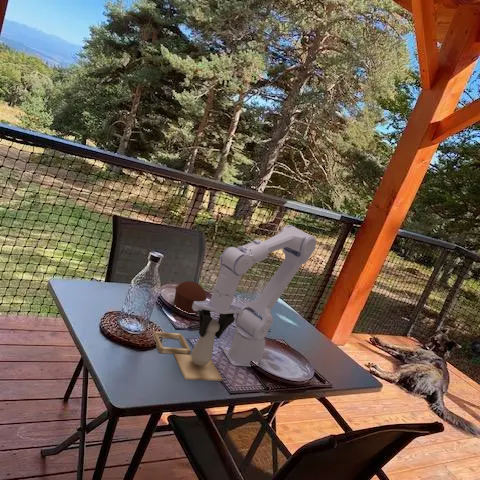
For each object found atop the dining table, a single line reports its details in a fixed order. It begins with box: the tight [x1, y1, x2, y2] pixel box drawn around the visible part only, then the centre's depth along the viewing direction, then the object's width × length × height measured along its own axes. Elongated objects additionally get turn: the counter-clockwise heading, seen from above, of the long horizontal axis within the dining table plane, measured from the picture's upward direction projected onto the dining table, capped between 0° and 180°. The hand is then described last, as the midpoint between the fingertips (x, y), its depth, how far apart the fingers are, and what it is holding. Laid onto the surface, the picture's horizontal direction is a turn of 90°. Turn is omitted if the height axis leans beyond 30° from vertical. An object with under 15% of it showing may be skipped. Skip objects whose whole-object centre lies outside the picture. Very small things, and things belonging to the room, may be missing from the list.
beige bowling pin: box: [190, 318, 220, 366], centre depth 126 cm, size 6×6×13 cm
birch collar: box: [151, 330, 192, 355], centre depth 134 cm, size 9×9×2 cm
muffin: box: [173, 280, 208, 314], centre depth 161 cm, size 12×11×10 cm
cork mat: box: [173, 354, 224, 382], centre depth 127 cm, size 11×11×1 cm
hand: (209, 335), depth 125 cm, fingers closed on beige bowling pin, 4 cm apart
